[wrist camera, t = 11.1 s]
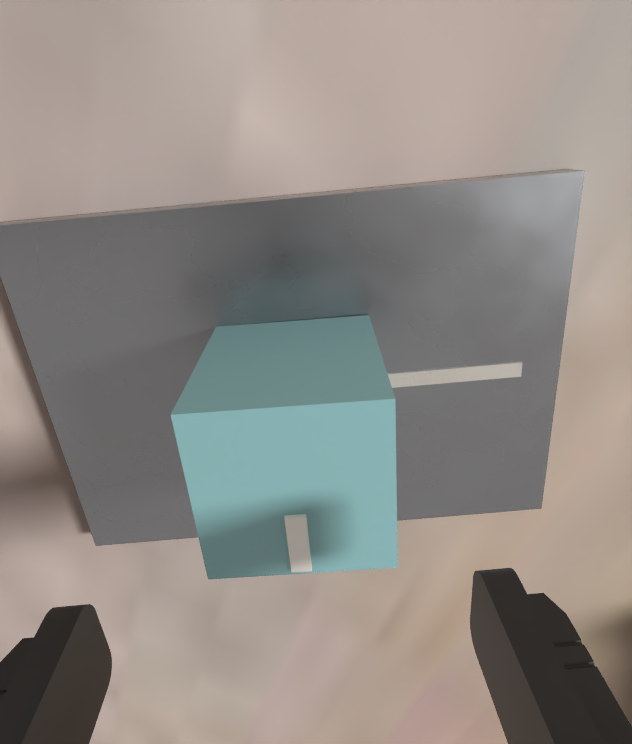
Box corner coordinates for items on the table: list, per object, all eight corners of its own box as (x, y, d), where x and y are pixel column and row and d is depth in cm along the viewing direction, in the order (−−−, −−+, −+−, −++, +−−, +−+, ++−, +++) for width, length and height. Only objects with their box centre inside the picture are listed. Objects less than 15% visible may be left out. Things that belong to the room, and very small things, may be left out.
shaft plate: (105, 527, 24) (50, 634, 19) (2, 221, 18) (-121, 254, 13) (530, 491, 23) (594, 590, 18) (567, 168, 18) (677, 180, 12)
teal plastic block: (216, 326, 18) (169, 417, 12) (368, 315, 18) (395, 401, 12) (238, 454, 21) (207, 582, 15) (373, 445, 21) (398, 571, 15)
